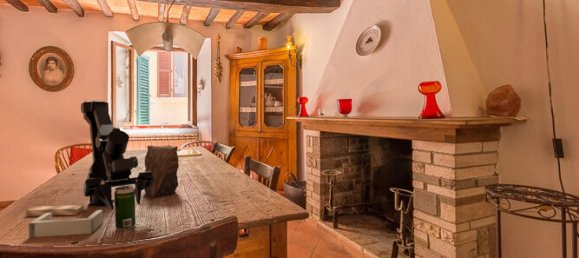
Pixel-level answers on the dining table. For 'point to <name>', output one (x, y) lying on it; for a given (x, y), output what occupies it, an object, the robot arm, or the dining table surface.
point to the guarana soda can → (124, 208)
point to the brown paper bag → (162, 170)
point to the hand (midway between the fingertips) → (126, 206)
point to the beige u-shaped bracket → (64, 225)
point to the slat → (55, 210)
